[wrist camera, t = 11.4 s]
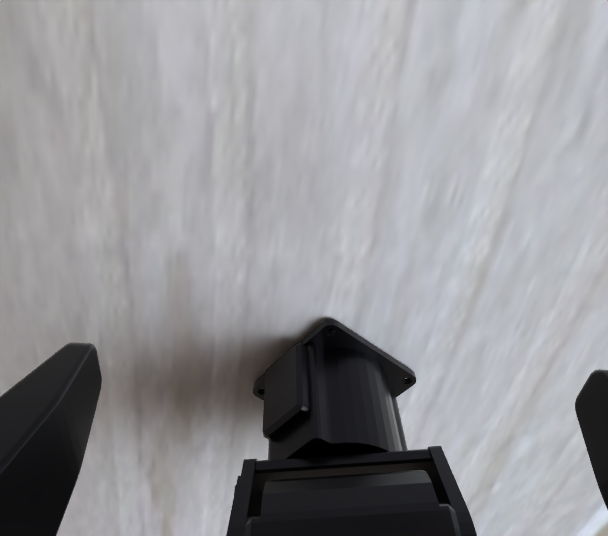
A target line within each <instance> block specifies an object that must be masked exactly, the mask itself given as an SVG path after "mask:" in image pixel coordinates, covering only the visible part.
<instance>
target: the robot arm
mask: <svg viewBox="0 0 608 536" xmlns="http://www.w3.org/2000/svg"><path fill="white" fill-rule="evenodd" d="M328 329H334V330H332V331H328ZM404 378H407V379H404ZM101 382H102V378H101V372H100V366H99V361H98V356H97V350H96V348H95V346H94V345H93V344H90V343H69V344H67V345H65V346H64V347H63V348H61V349H60V350H59V351H58V352H56V353H55V354H54V355H53V356H51V357H50V358H49V359H47V360H46V361H45V362H44V363H42V364H41V365H40V366H39V367H37V368H36V369H35V370H34V371H32V372H31V373H30V374H28V375H27V376H26V377H25V378H23V379H22V380H21V381H20V382H18V383H17V384H16V385H14V386H13V387H12V388H11V389H9V390H8V391H7V392H6V393H4V394H3V395H2V396H1V397H0V536H56V535H57V532H58V529H59V527H60V524H61V521H62V519H63V516H64V513H65V511H66V508H67V505H68V503H69V500H70V497H71V495H72V492H73V490H74V487H75V484H76V481H77V478H78V475H79V472H80V469H81V465H82V462H83V458H84V454H85V450H86V446H87V442H88V438H89V434H90V430H91V426H92V422H93V418H94V414H95V410H96V406H97V402H98V398H99V394H100V390H101ZM415 383H416V377H415V373H414V372H413V371H412V370H411V369H409V368H408V367H406V366H405V365H403V364H402V363H400V362H399V361H397V360H396V359H394V358H393V357H391V356H390V355H388V354H386V353H385V352H383V351H382V350H380V349H379V348H377V347H376V346H374V345H373V344H371V343H370V342H368V341H367V340H365V339H364V338H362V337H361V336H359V335H357V334H356V333H354V332H353V331H351V330H350V329H348V328H347V327H345V326H344V325H342V324H341V323H339V322H338V321H335V320H326V321H324V322H323V323H321V324H320V325H319V326H318V327H317V328H316V329H315V330H313V331H312V332H311V333H310V334H309V335H308V336H307V337H306V338H304V339H303V340H302V341H301V342H300V343H298V344H296V345H294V346H293V347H292V348H291V349H289V350H288V351H287V352H286V353H285V354H284V355H283V356H282V357H280V358H279V359H278V360H277V361H276V362H275V363H274V364H273V365H271V366H270V367H269V368H268V369H267V370H266V373H265V374H264V375H263V376H261V377H260V378H259V379H258V380H257V381H256V382H255V383H254V387H253V393H254V395H255V396H257V397H259V398H260V399H262V400H264V415H263V435H264V437H265V438H267V439H269V454H268V460H262V461H257V459H247V460H244V462H243V468H242V473H241V476H238V479H237V484H236V485H235V493H234V500H233V505H232V510H231V515H230V520H229V525H228V530H227V535H226V536H477V534H476V531H475V528H474V524H473V521H472V518H471V516H470V513H469V511H468V508H467V506H466V504H465V501H464V499H463V497H462V494H461V492H460V490H459V487H458V485H457V483H456V480H455V478H454V476H453V473H452V471H451V469H450V466H449V464H448V462H447V459H446V457H445V455H444V452H443V450H442V448H441V446H433V447H428V449H420V450H407V446H406V441H405V437H404V432H403V428H402V423H401V418H400V414H399V409H398V405H397V400H396V397H397V396H399V395H400V394H402V393H403V392H404V391H406V390H407V389H409V388H410V387H411V386H413V385H414V384H415ZM261 388H264V389H261ZM575 410H576V414H577V418H578V421H579V424H580V428H581V431H582V434H583V438H584V441H585V444H586V447H587V451H588V454H589V457H590V461H591V464H592V467H593V471H594V474H595V477H596V480H597V483H598V486H599V489H600V492H601V494H602V497H603V500H604V502H605V505H606V507H607V509H608V370H595V371H594V372H592V373H591V374H590V376H589V378H588V379H587V381H586V383H585V384H584V386H583V388H582V390H581V391H580V393H579V395H578V396H577V398H576V402H575Z"/></svg>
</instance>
